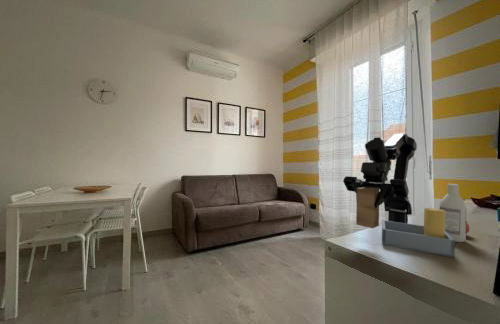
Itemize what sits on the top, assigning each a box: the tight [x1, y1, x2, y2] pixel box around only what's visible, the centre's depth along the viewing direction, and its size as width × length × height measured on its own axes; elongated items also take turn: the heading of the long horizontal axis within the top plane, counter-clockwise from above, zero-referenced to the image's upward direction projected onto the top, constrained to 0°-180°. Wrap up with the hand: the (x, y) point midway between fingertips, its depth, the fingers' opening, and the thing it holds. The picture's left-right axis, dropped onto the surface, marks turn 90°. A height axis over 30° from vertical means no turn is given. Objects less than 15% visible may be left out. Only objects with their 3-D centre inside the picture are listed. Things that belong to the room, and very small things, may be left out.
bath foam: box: [439, 183, 467, 243], centre depth 75 cm, size 7×7×20 cm
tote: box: [381, 219, 456, 259], centre depth 70 cm, size 18×14×5 cm
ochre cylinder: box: [423, 207, 445, 238], centre depth 66 cm, size 5×5×12 cm
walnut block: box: [355, 187, 380, 229], centre depth 68 cm, size 5×5×12 cm
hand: (366, 205), depth 67 cm, fingers closed on walnut block, 5 cm apart
